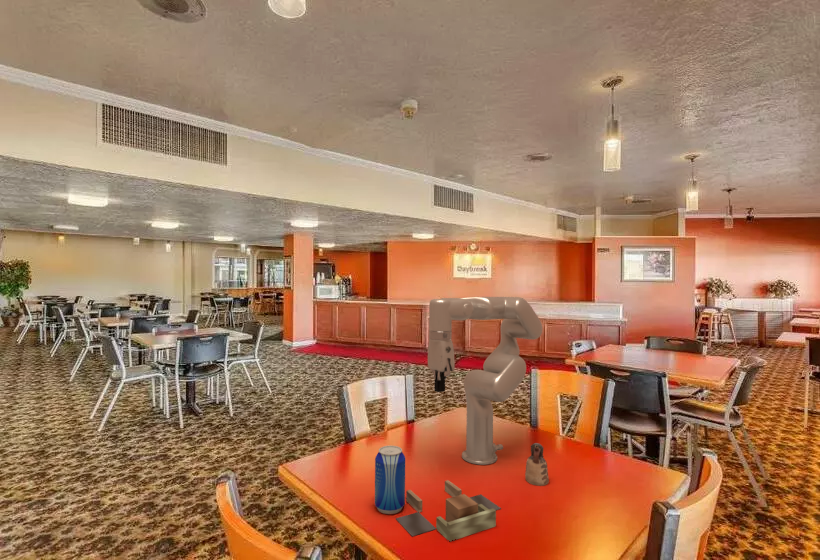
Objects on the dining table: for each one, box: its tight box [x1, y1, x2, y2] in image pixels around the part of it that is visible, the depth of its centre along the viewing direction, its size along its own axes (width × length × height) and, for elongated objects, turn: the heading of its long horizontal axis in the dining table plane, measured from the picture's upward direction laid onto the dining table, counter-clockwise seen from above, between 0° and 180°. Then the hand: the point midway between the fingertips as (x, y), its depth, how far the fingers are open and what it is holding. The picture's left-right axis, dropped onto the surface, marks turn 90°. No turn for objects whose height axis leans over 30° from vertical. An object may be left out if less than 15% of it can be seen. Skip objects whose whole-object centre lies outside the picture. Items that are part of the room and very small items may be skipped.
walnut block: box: [445, 493, 478, 522], centre depth 110 cm, size 6×6×6 cm
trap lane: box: [395, 479, 502, 542], centre depth 115 cm, size 28×22×4 cm
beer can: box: [374, 445, 406, 515], centre depth 118 cm, size 8×8×16 cm
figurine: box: [524, 442, 550, 487], centre depth 135 cm, size 7×7×12 cm
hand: (439, 391), depth 140 cm, fingers closed
